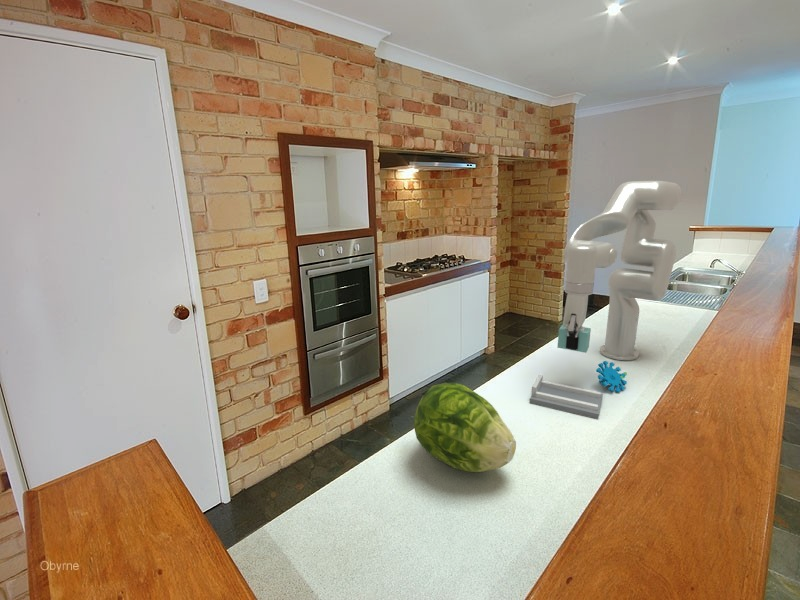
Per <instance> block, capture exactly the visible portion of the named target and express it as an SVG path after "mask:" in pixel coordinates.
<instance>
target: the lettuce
mask: <svg viewBox="0 0 800 600" xmlns="http://www.w3.org/2000/svg"><path fill="white" fill-rule="evenodd" d="M413 420H414V421H413V428H414V433H415V437H416V440H417V441H418V442H419V444H420V445H421V447H422V448H423V449H424V450H425V451H426V452H427V454H430V455H431V456H432V457H434V458H435V459H437V460H439V461H441V462H442V463H445V464H446V465H448V466H449V467H451V468H454V469H456V470H459V471H464V472H470V473H483V472H487V471H491V470H497V469H501V468H503V467H504V466H506V465H508V464H509V463H510V462H512V460H513V458H514V456H515V453H516V449H517V442H516V440H515V438H514V435H513V434H512V432H511V430H510V429H509V427H508V426H507V425H506V424H505V422H504V421H503V419H502V417H501V416H500V414H499V412H498V411H497V409H495V407H494V406H493V405H492V404H491V403H490V402H489V401H488V400H487V399H485V398H484V397H483V396H481V395H479V394H478V393H477V392H475V391H474V390H472V389H471V388H469V387H468V386H466V385H463V384H461V383H456V382H443V383H438V384H435V385H432V386H431V387H430V388H429V389H428V390H427V391H426V392H425V394H424V395H422V397H421V399H420V401H419V403H418V405H417V407H416V410H415V413H414V418H413Z"/></svg>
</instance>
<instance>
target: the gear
mask: <svg viewBox="0 0 800 600" xmlns="http://www.w3.org/2000/svg"><path fill="white" fill-rule="evenodd" d="M615 365H616V364H615V362H613V361H611V362H609V361H607V360H603V361H602V362H600V363H598V364H597V366H598V368H597V367H596V369H595V371H596V373H598V375H597V379H598V383H599V384H601V385H602V386H603V388H604V387H607V386H608V385H610V386H609V387H608V388H607V391H609V392H611V393H612V392H615V393H617V392H619V393H621V391H624V390H626V387H625V385H627V384H628V382H627V380H625V379H624V378H626V376H628V373H627V372H626V371H624V372H622V373H620V371H622V368H621V367H620V366H616V367H615ZM613 367H615V368H613Z"/></svg>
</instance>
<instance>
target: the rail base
mask: <svg viewBox="0 0 800 600" xmlns="http://www.w3.org/2000/svg"><path fill="white" fill-rule="evenodd" d="M543 379H544V378H543V374H537V377H536V379H535V380H534V382H533V383H532V385H531V394H530V398H529V404H533V405H537V406H541V407H545V408H550V409H554V410H558V411H563V412H566V413H571V414H574V415H580V416H583V417H588V418H592V419H594V420H595V419H596V420H599V416H600V412H601V408H602V403H603V397H604V394H603V393H602V392H600V391H595V390H591V389H585V388H580V387H576V386H571V385H566V384H562V383H557V382H552V381H551V382H550V381H547V380H543Z"/></svg>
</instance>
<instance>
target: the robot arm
mask: <svg viewBox="0 0 800 600" xmlns="http://www.w3.org/2000/svg"><path fill="white" fill-rule="evenodd" d="M681 199H682V188H681V186H680V185H679V184H678V183H676V182H670V181H665V180H638V181H637V180H636V181H635V180H632V181H626V182H623V183H621V184H620V185H619V186H618V187H617V188H616V190H615V191H614V193H613V195H612V196H611V198H610V200H608V202H607V204H606V206H605V207H604V209H603V211H602V213H599V214H598V215H596V216H593V217H591V219H589V220H587V221H586V222H584V223H582V224H580V225H579V226H578V227H577V228H576V229H575V230H574V231H573V233H572V234H571V236H570V237H569V239H568V240H567V243H566V245H565V247H564V250H563V251H564V253H563V256H564V259H565V260H566V273H565V285H564V292H565V293H566V300H565V306H564V316H563V322H562V324H563V325H564V326H567V325H569V326H568V333H567V339H566V348H567V349H566V350H568V349H572V350H571V351H573V350H577V349H578V340H579V337H578V331H579V328H580V327H581V326H582V327H583V324H584V323H585V322H586V319H587V318H586V316H587V311H588V302H589V296H590V295H593V294H594V285H595V274H596V269H605V268H608V267H610V266H612V265H613V264H614V263H615V262H616V261H617V258H618V248H617V247H616V245H614V244H613V243H611V242H606V241H595V239H597V238H601V237H604V236H605V237H606V236H610V235H612V234H616V233H619V232H622V231H625V230H626V231H625V235H624V238H623V243H622V247H621V251H620V261H621V262H622V263H623V264H626V265H630V266H637V267H644V268H645V267H646V268H651V269H653V271H651V270H642V269H635V268H626V267H625V268H624V267H623V268H618V269H615V270H613V271H612V272H611V273H610V275H609V278H608V290H609V303H608V305H609V306H608V313H607V323H606V332H605V340H604V341H605V342H604V344H603V345H602V346H600V347H599V353H600V354H601V355H602V356H604V357H607V358H609V359H612V360H616V361H617V360H618V361H634V360H636V359H638V358H639V355H640V353H639V352H638V351H637V350H636V349H635V348H636V347H635V346H636V341H637V333H638V326H639V318H640V306H639V303H638V301H637V300H636V299H642V300H646V301H647V300H648V301H655V302H658V301H660V300H663V299H664V297H665V296H666V293H667V290H668V288H669V284H670V280H671V277H672V271H673V268H674V264H675V260H676V254H677V252H676V251H677V249H676V245H675V244H674V243H673V241H671V240H667V239H660V238H654V237H655V232H656V229H657V223H656V221H655V219H654V217H653V215H652V214H651V213H650V211H672V210H674V209H676V207H678V206H679V204H680V202H681ZM575 326H577V327H575ZM574 329H576V331H575V330H574Z"/></svg>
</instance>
